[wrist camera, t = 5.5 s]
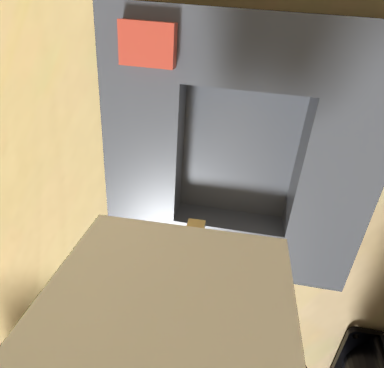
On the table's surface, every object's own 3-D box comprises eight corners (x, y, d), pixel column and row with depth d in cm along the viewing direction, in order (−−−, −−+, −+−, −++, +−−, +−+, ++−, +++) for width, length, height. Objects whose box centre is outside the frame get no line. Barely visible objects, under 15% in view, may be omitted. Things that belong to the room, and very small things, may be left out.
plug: (253, 346, 12) (253, 616, 7) (130, 325, 12) (40, 557, 7) (281, 205, 9) (322, 483, 4) (120, 186, 9) (-44, 402, 4)
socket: (330, 257, 22) (344, 301, 18) (126, 226, 23) (106, 261, 20) (414, 20, 15) (458, 24, 12) (118, -1, 16) (85, -4, 13)
